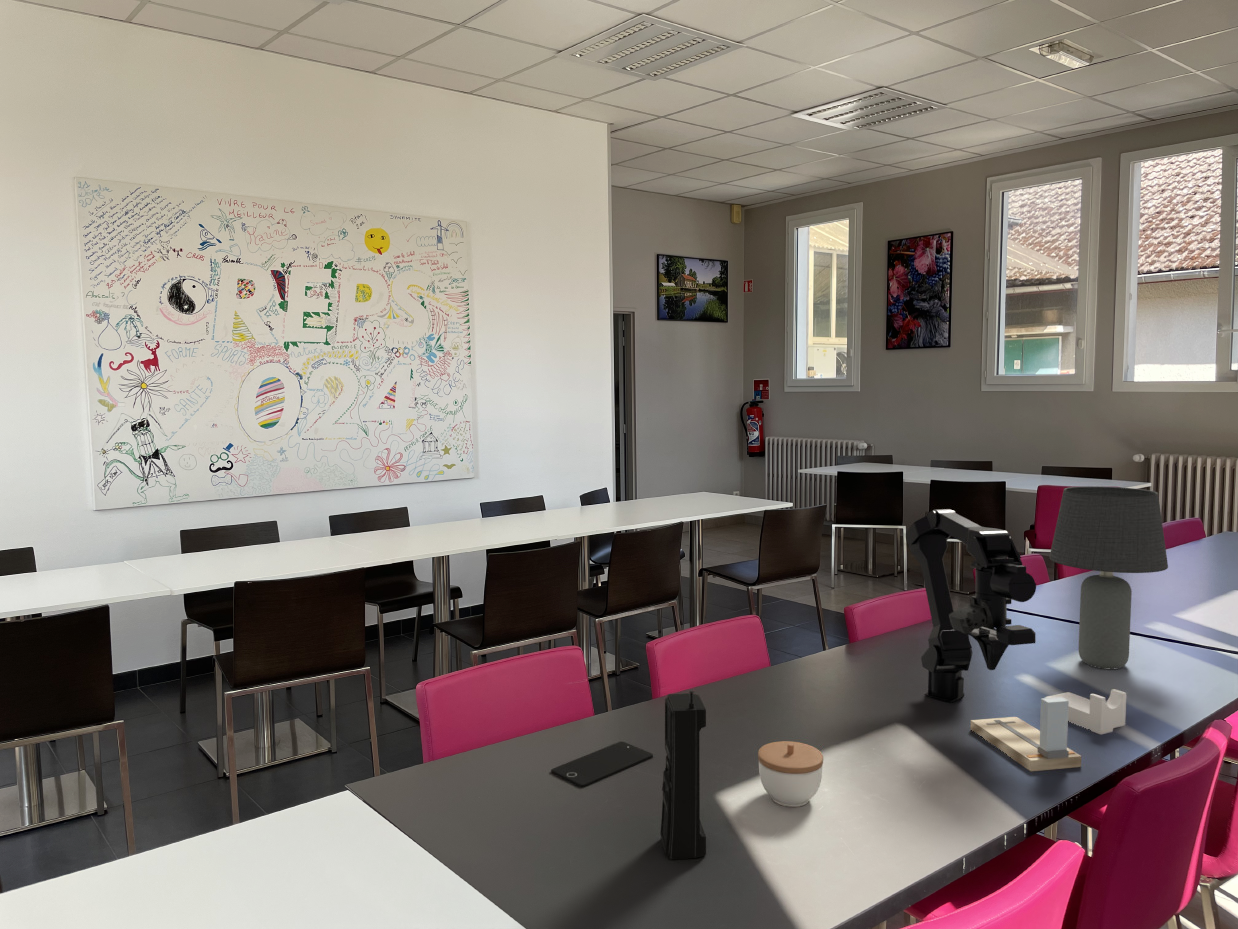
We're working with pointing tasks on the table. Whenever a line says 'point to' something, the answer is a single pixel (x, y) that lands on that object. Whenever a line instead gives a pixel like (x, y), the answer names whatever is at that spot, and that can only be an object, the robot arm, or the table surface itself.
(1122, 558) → the lamp
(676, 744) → the portable radio
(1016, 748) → the slider board
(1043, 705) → the fader tab
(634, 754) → the cell phone
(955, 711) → the table surface
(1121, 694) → the bracket
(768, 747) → the lidded jar
